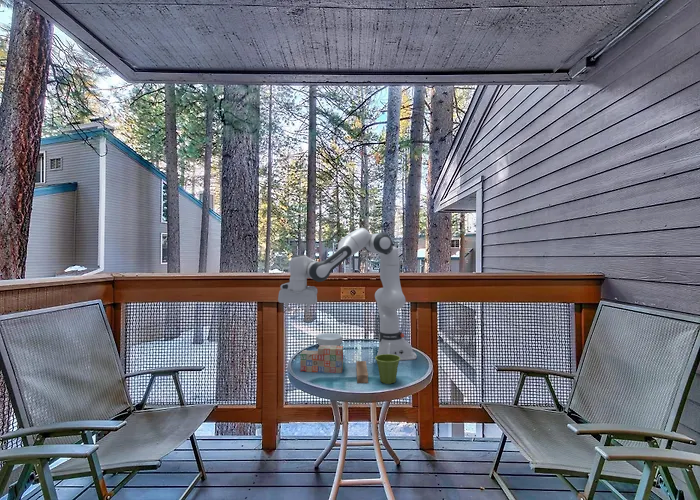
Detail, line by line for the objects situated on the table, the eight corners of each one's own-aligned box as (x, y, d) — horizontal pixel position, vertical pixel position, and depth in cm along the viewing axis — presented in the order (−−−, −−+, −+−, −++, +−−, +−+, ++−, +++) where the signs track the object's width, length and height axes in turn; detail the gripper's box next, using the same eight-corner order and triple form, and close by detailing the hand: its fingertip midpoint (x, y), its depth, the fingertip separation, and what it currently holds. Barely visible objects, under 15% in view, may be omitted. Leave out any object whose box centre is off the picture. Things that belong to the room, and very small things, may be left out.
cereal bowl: (344, 350, 217) (344, 338, 217) (317, 351, 214) (317, 340, 214) (339, 342, 234) (339, 331, 234) (314, 344, 231) (314, 333, 230)
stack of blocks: (300, 371, 181) (300, 347, 181) (302, 367, 187) (302, 344, 187) (341, 373, 179) (341, 349, 178) (343, 368, 185) (343, 345, 185)
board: (365, 368, 186) (365, 361, 186) (367, 383, 166) (367, 375, 166) (356, 368, 186) (356, 361, 186) (357, 383, 166) (357, 375, 166)
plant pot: (396, 376, 175) (396, 353, 174) (403, 385, 163) (403, 361, 163) (372, 377, 173) (372, 354, 173) (378, 387, 161) (378, 362, 161)
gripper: (318, 285, 187) (318, 312, 187) (281, 284, 190) (280, 310, 190) (316, 287, 181) (315, 314, 181) (277, 285, 183) (276, 312, 183)
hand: (297, 312), depth 185 cm, fingers open, 8 cm apart
